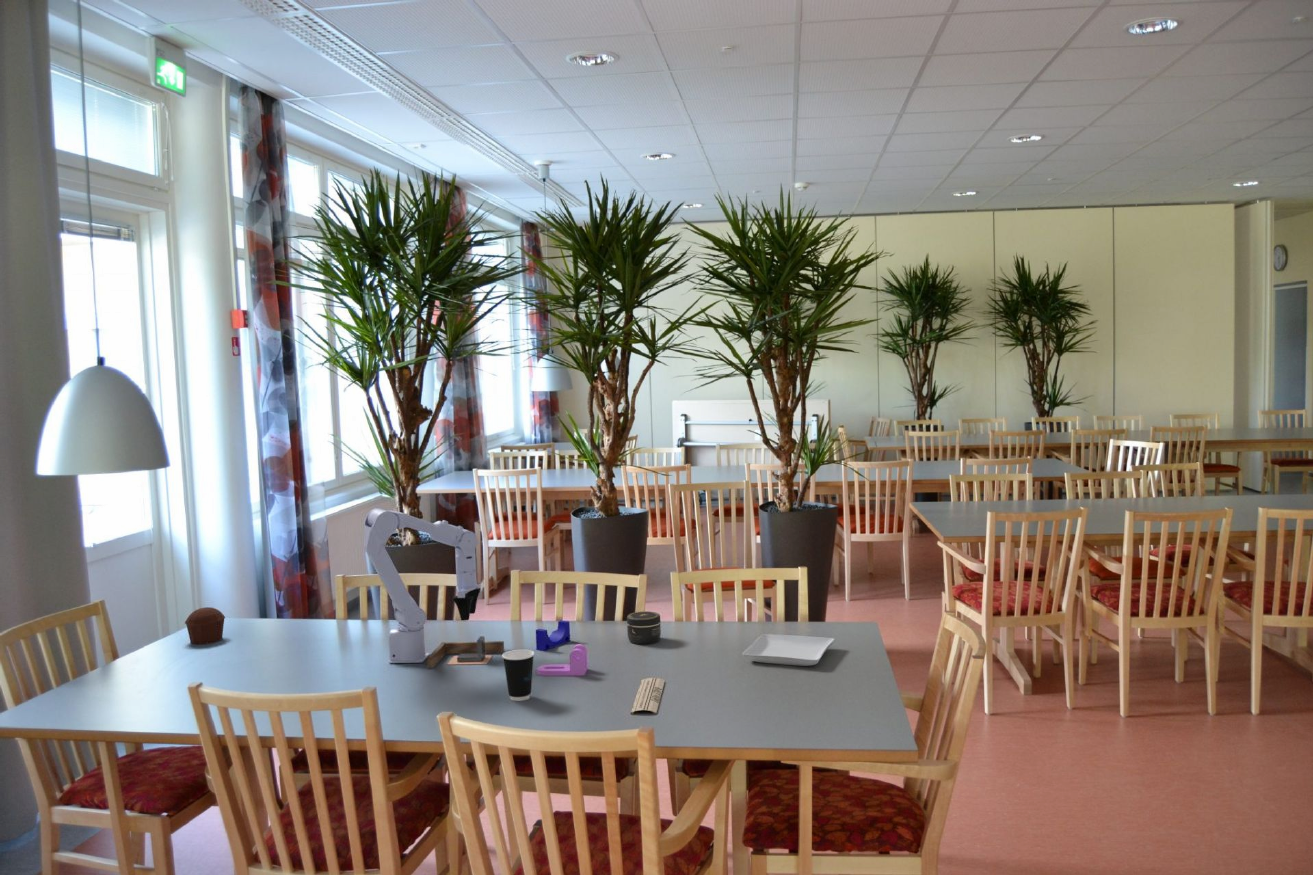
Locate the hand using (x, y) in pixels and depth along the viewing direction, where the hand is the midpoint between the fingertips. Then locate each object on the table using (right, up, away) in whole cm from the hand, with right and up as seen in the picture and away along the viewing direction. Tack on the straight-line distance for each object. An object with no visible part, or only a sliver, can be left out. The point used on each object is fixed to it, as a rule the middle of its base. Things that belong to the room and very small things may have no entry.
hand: (468, 616), depth 285 cm
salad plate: (+92, -8, -16) cm, 93 cm away
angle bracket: (+3, -10, -11) cm, 16 cm away
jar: (+51, -8, +3) cm, 52 cm away
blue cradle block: (+24, -9, +2) cm, 26 cm away
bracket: (+30, -11, -25) cm, 40 cm away
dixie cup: (+21, -12, -44) cm, 51 cm away
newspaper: (+54, -12, -47) cm, 72 cm away
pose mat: (+3, -10, -11) cm, 16 cm away
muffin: (-85, -11, +18) cm, 88 cm away
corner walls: (+2, -10, -11) cm, 15 cm away
